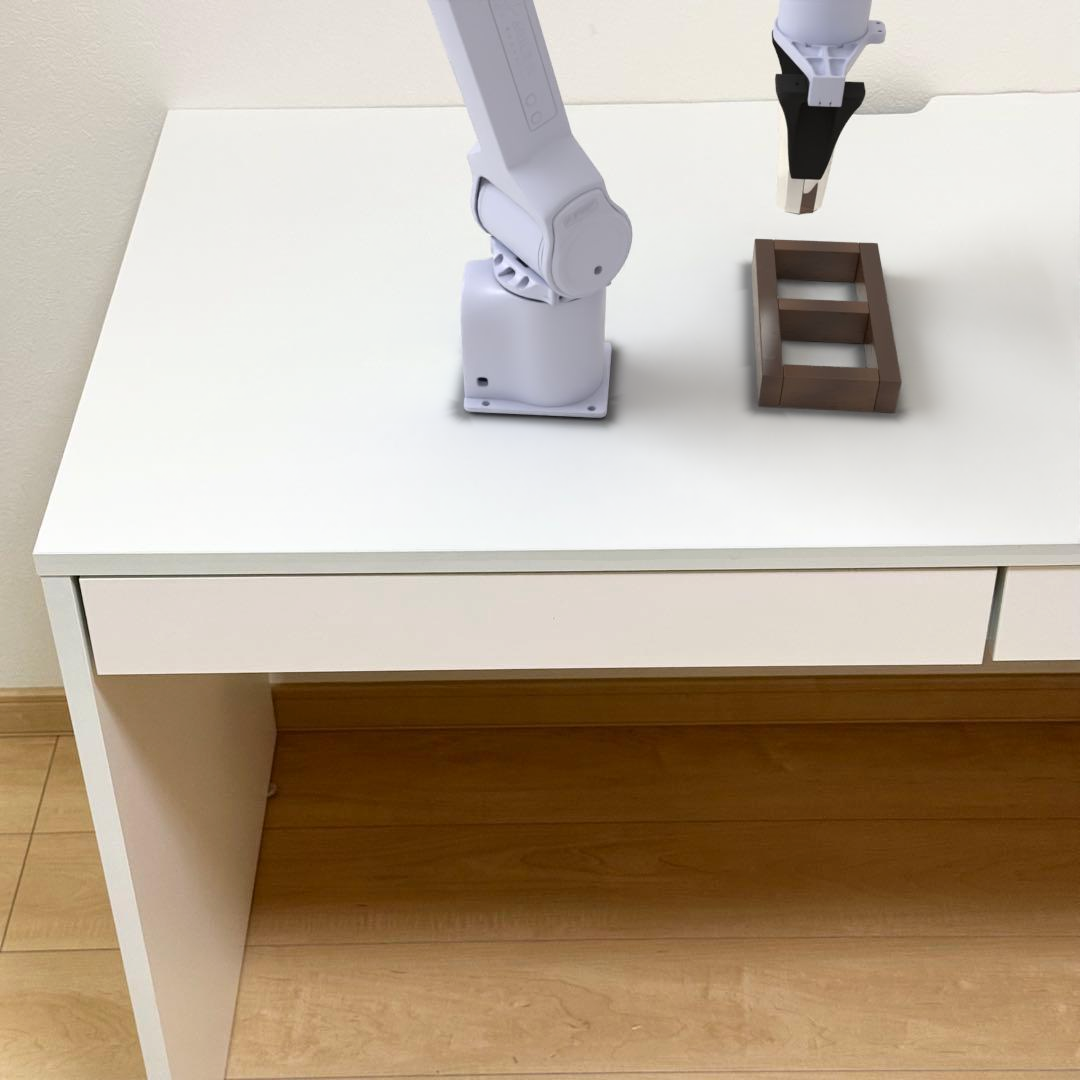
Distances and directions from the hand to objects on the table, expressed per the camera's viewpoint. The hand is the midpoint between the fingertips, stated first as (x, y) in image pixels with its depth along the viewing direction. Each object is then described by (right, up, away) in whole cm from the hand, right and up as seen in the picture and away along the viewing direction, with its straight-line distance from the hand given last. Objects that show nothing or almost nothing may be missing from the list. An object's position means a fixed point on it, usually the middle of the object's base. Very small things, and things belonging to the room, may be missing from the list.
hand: (803, 156), depth 93 cm
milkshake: (0, -3, +3) cm, 4 cm away
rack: (+2, -12, +3) cm, 12 cm away
